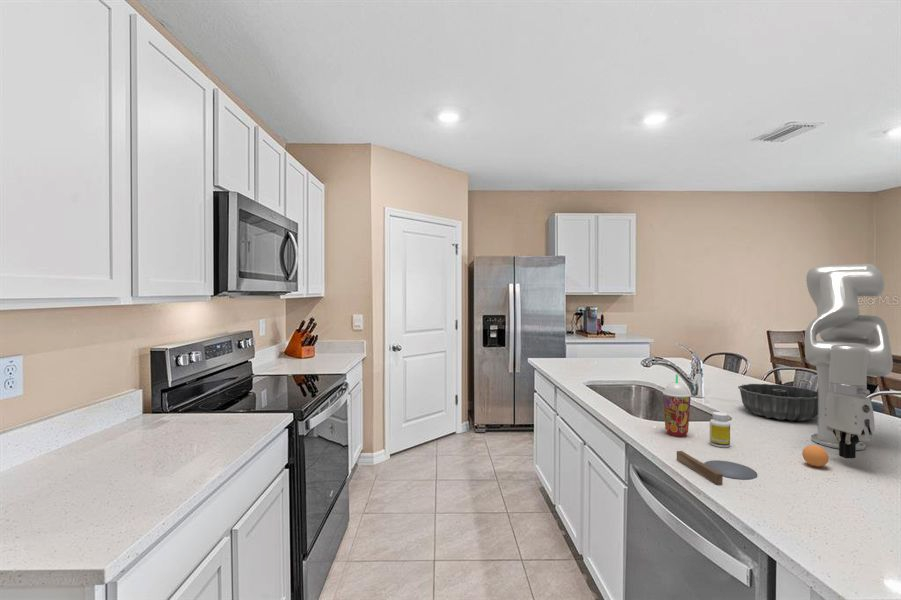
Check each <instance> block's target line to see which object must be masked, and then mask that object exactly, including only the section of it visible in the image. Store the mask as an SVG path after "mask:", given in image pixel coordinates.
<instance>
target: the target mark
mask: <svg viewBox="0 0 901 600" xmlns="http://www.w3.org/2000/svg"><path fill="white" fill-rule="evenodd" d="M704 464H705V465H707V466H709V467H711V468H712V469H714V470H716V471H717V472H719V473H721V474H723V476H724V478H727V479H728V478H729V479H733V480H746V481H747V480H753V478H754V479H756V478H757V477H758V473H757V472H756V471H755V469H753V468H752V467H751V468H750V467H749V466H747V465H744V464H741V463H737V462H733V461H727V460H718V459H717V460H715V459H713V460H708V461H705V462H704Z"/></svg>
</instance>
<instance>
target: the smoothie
mask: <svg viewBox="0 0 901 600" xmlns="http://www.w3.org/2000/svg"><path fill="white" fill-rule="evenodd" d="M662 398H663V399H662V400H663V413H664V414H663V415H664V425H665V426H664V429H665V431H666V433H667V434H668V435H670V436H673V437H677V436H678V437H682V438H683V437H686V436H687V433H688V432H689V425H690V424H689V423H690V412H691V411H690V410H691V398H692V394H691V393H690V391H689V388H687V387H686V386H685V385H684V384H682V383H681V382H679V374H675V382H672V383H669V384H668V385H667V386H666V387H665V389H664V390H663V391H662ZM678 437H677V438H678Z"/></svg>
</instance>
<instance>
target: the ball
mask: <svg viewBox="0 0 901 600" xmlns="http://www.w3.org/2000/svg"><path fill="white" fill-rule="evenodd" d="M801 454H802V459H804V461H805V462H806V463H807V464H808V465H810V466H812V467H816V468H819V467H820V468H821V467H824V466H826V465H827V464H828V463H829V460H830V457H829V453H828V452H827V451H826V450H825V449H824V448H823V447H822V446H818V445H815V444H812V445H807V446H806V447H804V448H803V449H802V453H801Z"/></svg>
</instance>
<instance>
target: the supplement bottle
mask: <svg viewBox="0 0 901 600" xmlns="http://www.w3.org/2000/svg"><path fill="white" fill-rule="evenodd" d="M728 418H729V417H728V413H726V412H720V411H713V412H712V418H711V419H710V420H709V444H710V445H712V446H714V447H716V448H717V447H719V448H729V447H730V446H731V423H730V421H729V420H728Z"/></svg>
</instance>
